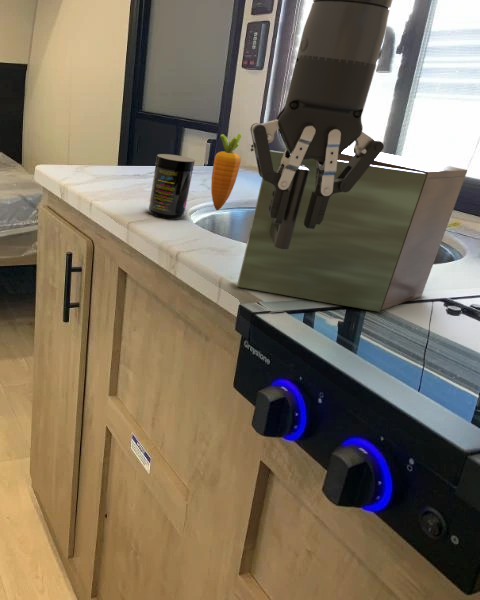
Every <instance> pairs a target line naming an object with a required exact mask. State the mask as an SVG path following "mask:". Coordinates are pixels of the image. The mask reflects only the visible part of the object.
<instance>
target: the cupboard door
mask: <svg viewBox="0 0 480 600" xmlns="http://www.w3.org/2000/svg"><path fill="white" fill-rule="evenodd" d="M284 152H285V151H279V150H272V149H270V154H271V159H272V165H273V170H274V171H276V172H277V171H278V169H279V166H280V164H281V159H282V157H283V154H284ZM330 162H331V161H330ZM347 163H348V162H347V161H341V160H338V161H337V170H336V173H335V175H334V179H336V177H337V176H338V175H339V174H340V172H341V171H342V170H343V168H344V167H345V166H346V165H347ZM316 173H317V170H316V160H315V159H305V160H304V159H303V160H302V162H301V164H300V167H299V168H298V170H297V171H296V172H295V174H294V177H293V179H292V181H291V183H290V186H289V187H288V190H289V191H290V194H289V198H288V202H287V205H286V209H285V213H284V217H283V221H282V224H275V223H274V222H273V221H272V218H271V217H270V216H269V213H268V208H269V204H270V200H271V196H272V192H273V184H271V183H269V182H267V181H265V180H264V179H263V178H262V177H261V182H260V187H259V190H258V191H259V192H258V194H257V195H258V196H257V200H256V204H255V208H254V212H253V216H252V219H251V224H250V229H249V233H248V238H247V242H246V246H245V249H244V255H243V259H242V263H241V268H240V271H239V276H238V279H237V287H238V288H243V289H249V290H254V291H259V292H265V293H271V294H277V295H281V296H287V297H293V298H300V299H304V300H311V301H314V302H315V301H316V302H322V303H327V304H333V305H337V306H343V307H344V306H345V307H349V308H355V309H361V310H365V311H366V310H367V311H372V312H378V313H380V312H381V311H382V310H381V307H382V304H383V301H384V298H385V295H386V292H387V289H388V286H389V283H390V280H391V277H392V274H393V272H394V269H395V266H396V263H397V260H398V257H399V254H400V251H401V248H402V245H403V242H404V239H405V236H406V233H407V230H408V227H409V224H410V221H411V219H412V216H413V213H414V210H415V207H416V204H417V201H418V198H419V195H420V192H421V189H422V186H423V183H424V180H425V177H426V174H425V173H423V172H416V171H409V170H402V169H395V168H389V167H382V166H375V165H370V166H369V168H368V169H367V170H366V171H365V172H364V174H363V175H362V176H361V177H360V179H359V180H358V181H357V182H356V184H355V185H354V186H353V187H352V189H351V190H350V191H349V192H339V193H334V194H332V195H331V196H330V198H329V200H328V204H327V207H326V211H325V214H324V218H323V221H322V222H321V223H320V225H319V224H316V226H315V228H314V229H309V228H306V227H305V225H304V220H305V216H306V212H307V209H308V205H309V201H310V198H311V194H312V192H315V190H316V188H315V183H316Z"/></svg>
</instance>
